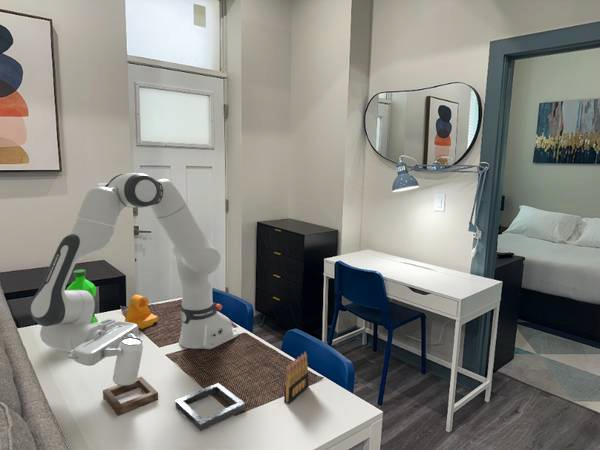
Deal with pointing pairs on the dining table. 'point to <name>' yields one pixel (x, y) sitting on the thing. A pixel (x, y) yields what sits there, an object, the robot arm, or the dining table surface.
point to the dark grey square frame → (215, 418)
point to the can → (128, 361)
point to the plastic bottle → (83, 286)
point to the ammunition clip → (296, 378)
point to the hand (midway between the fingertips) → (131, 346)
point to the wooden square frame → (135, 403)
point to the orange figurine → (140, 312)
